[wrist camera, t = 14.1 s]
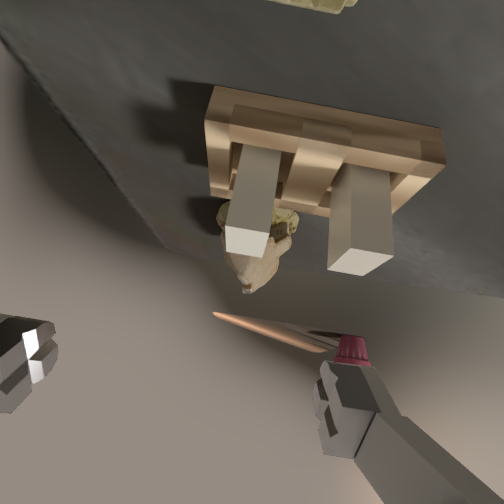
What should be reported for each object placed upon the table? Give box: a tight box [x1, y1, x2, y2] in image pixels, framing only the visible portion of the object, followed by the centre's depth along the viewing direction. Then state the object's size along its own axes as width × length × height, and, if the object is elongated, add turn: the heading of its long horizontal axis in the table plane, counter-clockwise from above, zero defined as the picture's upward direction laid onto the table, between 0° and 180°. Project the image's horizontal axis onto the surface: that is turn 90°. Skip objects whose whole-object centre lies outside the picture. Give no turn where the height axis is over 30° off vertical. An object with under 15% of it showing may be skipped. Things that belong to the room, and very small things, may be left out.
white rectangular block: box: [225, 144, 282, 258], centre depth 21 cm, size 4×3×8 cm, turn 176°
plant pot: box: [334, 335, 370, 366], centre depth 112 cm, size 14×14×13 cm
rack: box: [204, 85, 447, 217], centre depth 23 cm, size 9×17×4 cm, turn 85°
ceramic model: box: [216, 200, 299, 294], centre depth 36 cm, size 14×11×10 cm
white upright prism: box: [327, 163, 394, 276], centre depth 22 cm, size 4×3×8 cm, turn 175°
